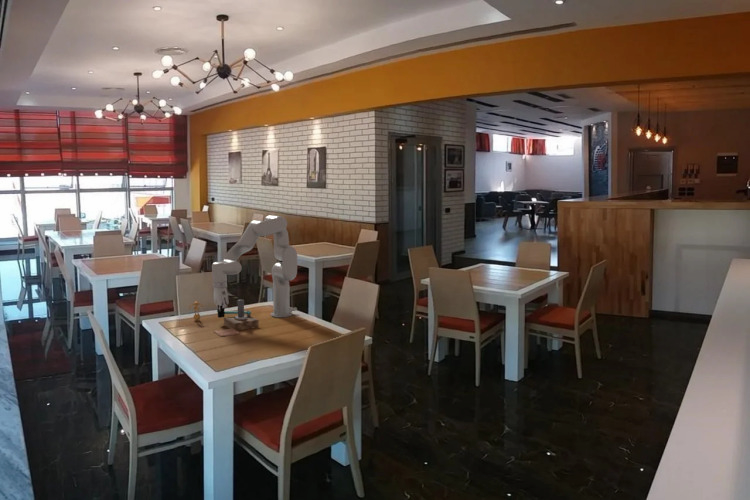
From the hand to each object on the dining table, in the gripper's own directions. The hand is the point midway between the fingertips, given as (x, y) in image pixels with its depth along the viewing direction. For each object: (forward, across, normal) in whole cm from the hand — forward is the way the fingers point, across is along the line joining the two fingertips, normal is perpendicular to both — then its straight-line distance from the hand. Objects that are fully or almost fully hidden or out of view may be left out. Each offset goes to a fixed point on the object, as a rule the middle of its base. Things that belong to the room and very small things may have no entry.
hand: (221, 317), depth 316 cm
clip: (-1, -1, -7) cm, 7 cm away
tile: (+4, -18, +4) cm, 19 cm away
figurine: (+4, +16, +8) cm, 18 cm away
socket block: (+5, -9, -8) cm, 12 cm away
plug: (+5, -9, -8) cm, 12 cm away
